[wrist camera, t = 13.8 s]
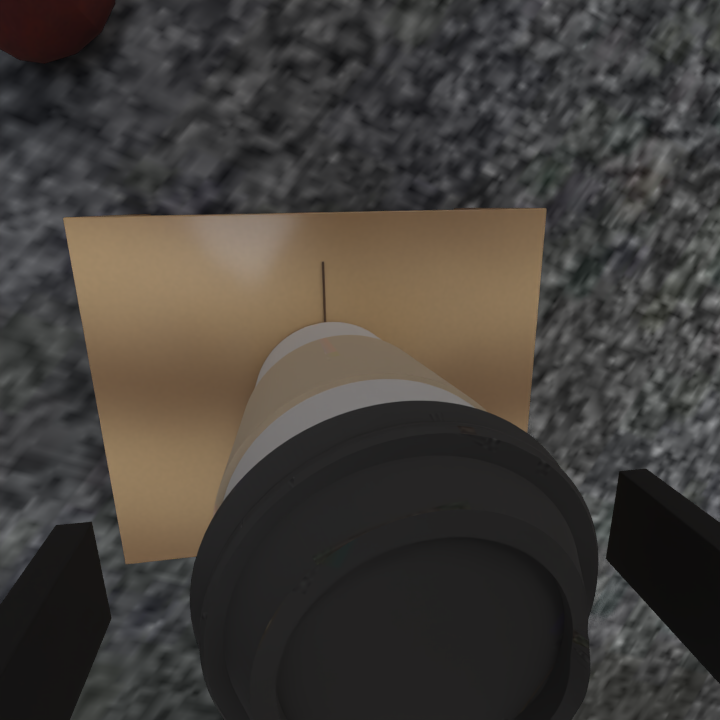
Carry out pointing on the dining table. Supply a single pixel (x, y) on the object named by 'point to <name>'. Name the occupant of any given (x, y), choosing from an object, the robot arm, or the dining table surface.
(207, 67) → the dining table surface
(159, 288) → the board
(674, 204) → the dining table surface
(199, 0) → the dining table surface
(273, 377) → the coffee cup
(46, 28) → the potato
